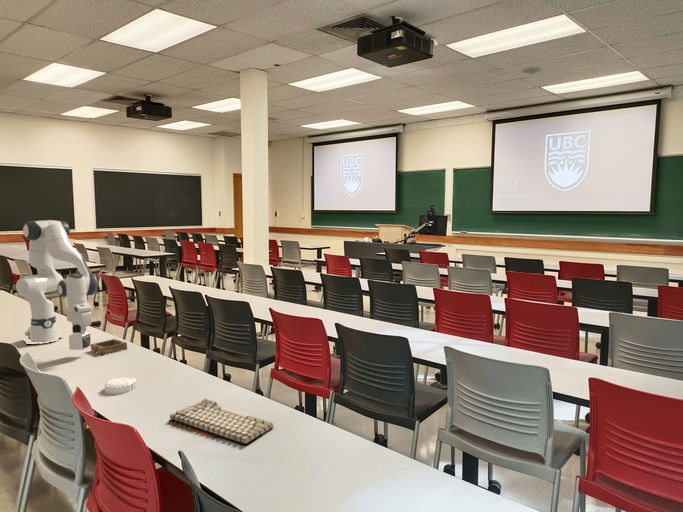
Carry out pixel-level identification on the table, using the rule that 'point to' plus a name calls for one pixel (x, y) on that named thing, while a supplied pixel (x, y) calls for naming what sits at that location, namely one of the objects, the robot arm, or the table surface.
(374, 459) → the table surface
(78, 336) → the medicine bottle
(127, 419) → the table surface
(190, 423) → the mechanical keyboard
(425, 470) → the table surface
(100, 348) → the brown wooden tray
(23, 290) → the robot arm
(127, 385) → the mooncake
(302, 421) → the table surface
